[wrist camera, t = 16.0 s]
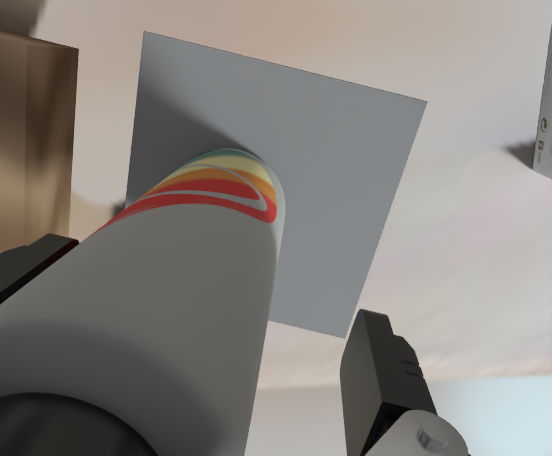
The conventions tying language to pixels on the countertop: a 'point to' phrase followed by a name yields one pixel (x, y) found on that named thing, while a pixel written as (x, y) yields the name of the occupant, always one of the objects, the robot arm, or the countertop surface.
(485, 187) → the countertop surface
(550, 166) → the supplement box
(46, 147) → the block
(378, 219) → the rubber mat
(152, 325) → the lotion bottle
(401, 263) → the countertop surface
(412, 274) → the countertop surface
